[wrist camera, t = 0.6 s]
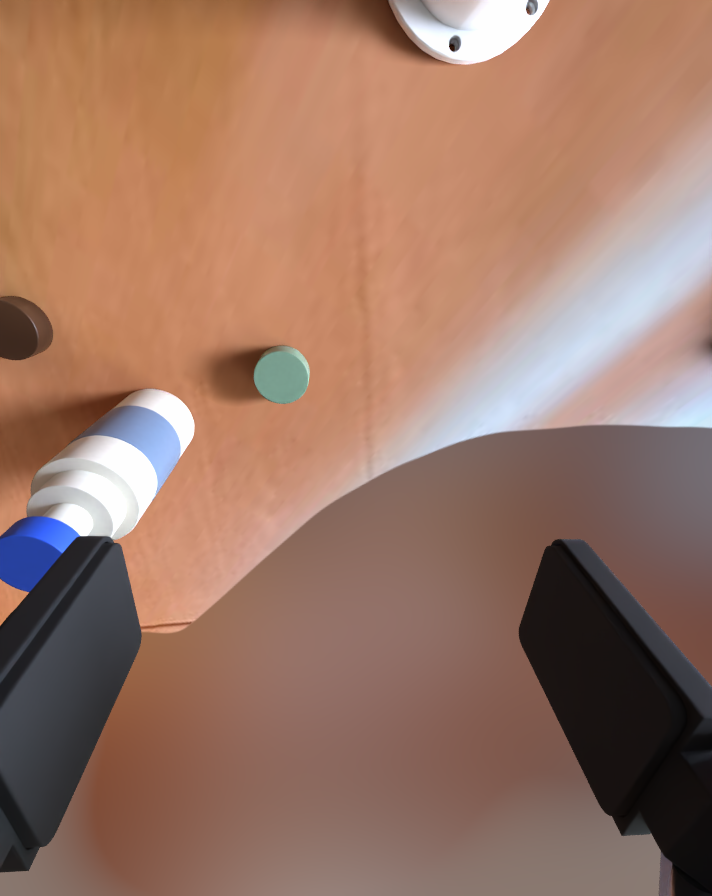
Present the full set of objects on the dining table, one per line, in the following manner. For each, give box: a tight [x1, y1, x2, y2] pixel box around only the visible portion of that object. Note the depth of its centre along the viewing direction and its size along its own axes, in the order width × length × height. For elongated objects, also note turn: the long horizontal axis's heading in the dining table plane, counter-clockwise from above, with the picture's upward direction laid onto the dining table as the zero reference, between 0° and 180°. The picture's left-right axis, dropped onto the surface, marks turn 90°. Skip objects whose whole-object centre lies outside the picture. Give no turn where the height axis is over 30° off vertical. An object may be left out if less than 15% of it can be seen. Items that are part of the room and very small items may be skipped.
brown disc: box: [0, 296, 53, 360], centre depth 36 cm, size 5×5×2 cm
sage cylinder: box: [254, 346, 309, 404], centre depth 39 cm, size 5×5×2 cm
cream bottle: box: [0, 389, 194, 592], centre depth 33 cm, size 7×7×20 cm
